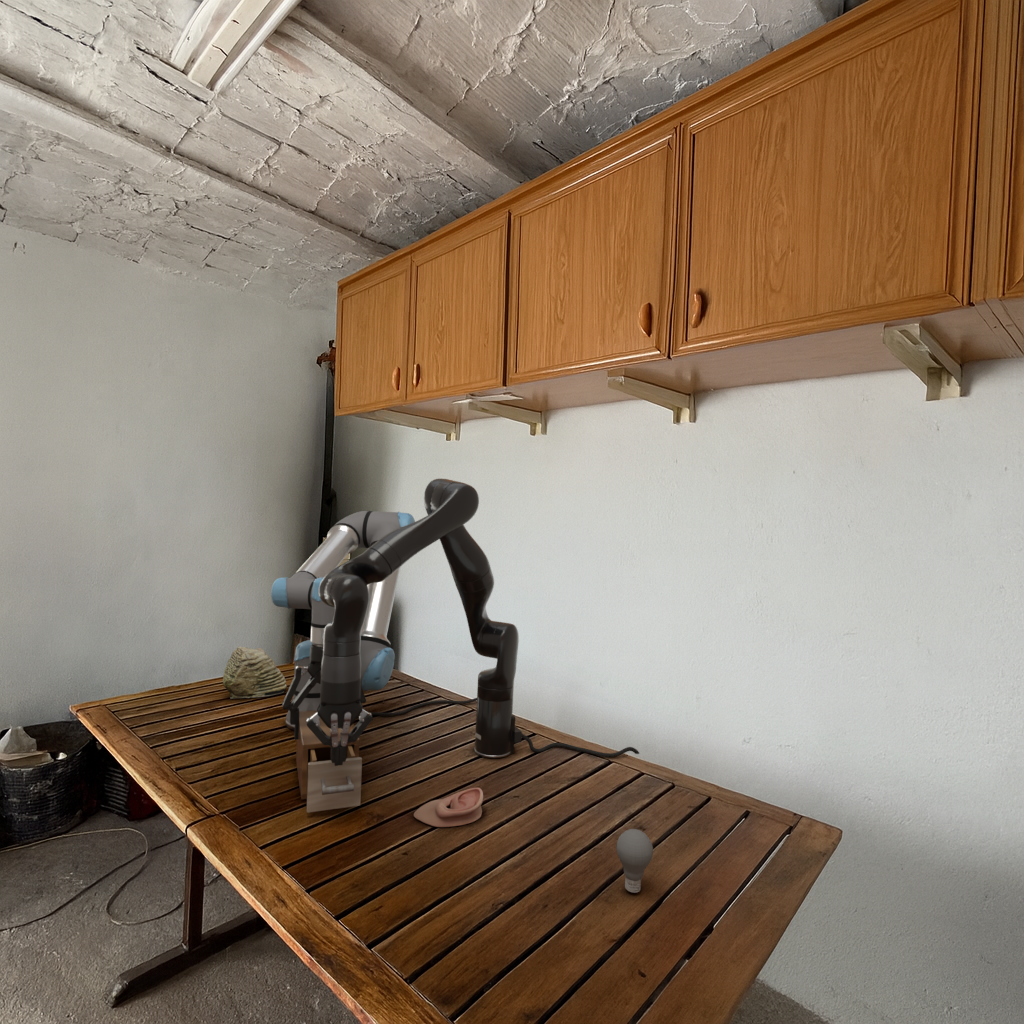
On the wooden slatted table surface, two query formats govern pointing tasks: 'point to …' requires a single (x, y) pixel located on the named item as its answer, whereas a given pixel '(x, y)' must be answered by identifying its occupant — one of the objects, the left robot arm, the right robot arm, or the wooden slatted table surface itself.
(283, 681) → the fossil
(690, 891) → the wooden slatted table surface
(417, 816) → the anatomical model
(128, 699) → the wooden slatted table surface
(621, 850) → the light bulb
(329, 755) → the drawer
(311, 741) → the cabinet
